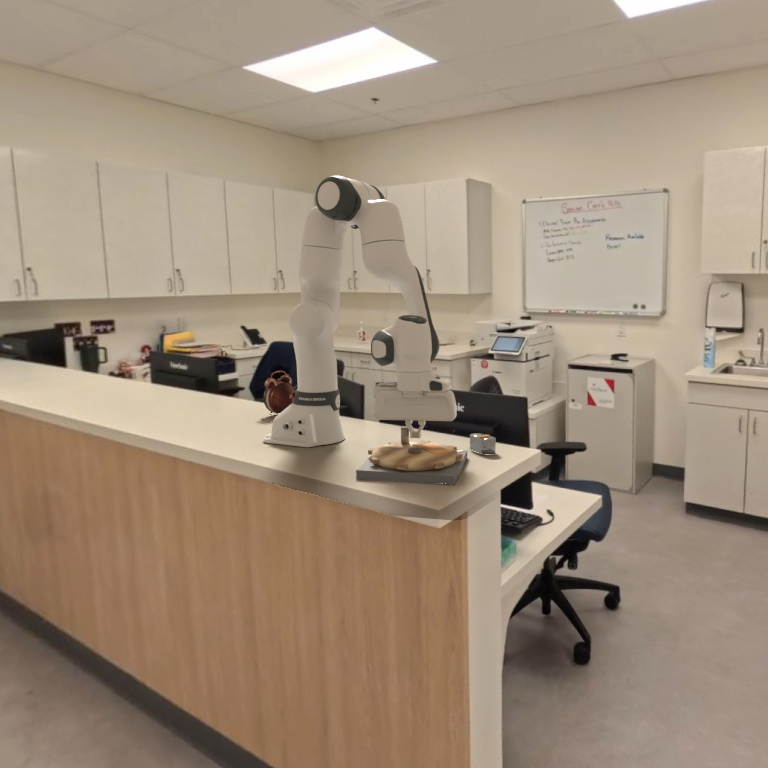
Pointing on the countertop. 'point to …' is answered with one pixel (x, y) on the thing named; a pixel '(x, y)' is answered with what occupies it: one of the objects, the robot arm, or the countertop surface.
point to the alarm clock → (278, 393)
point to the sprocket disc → (414, 454)
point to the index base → (412, 473)
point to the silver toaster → (482, 443)
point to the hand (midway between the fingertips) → (415, 437)
